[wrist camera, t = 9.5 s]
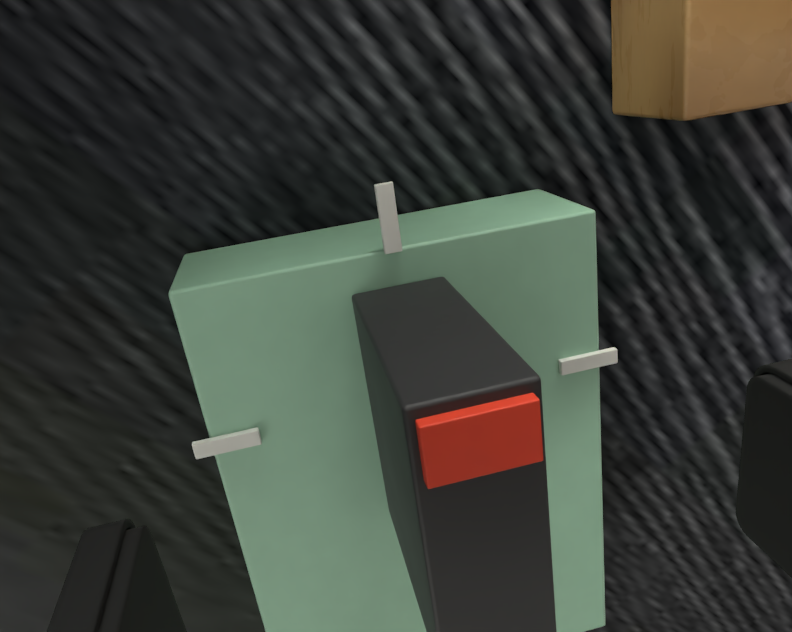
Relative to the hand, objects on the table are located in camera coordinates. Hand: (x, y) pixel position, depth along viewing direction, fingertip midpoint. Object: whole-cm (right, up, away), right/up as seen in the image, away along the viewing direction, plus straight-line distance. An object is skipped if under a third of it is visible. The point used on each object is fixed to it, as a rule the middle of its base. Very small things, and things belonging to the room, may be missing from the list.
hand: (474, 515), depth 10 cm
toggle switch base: (-1, 0, +8) cm, 8 cm away
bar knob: (-1, +1, +5) cm, 5 cm away
